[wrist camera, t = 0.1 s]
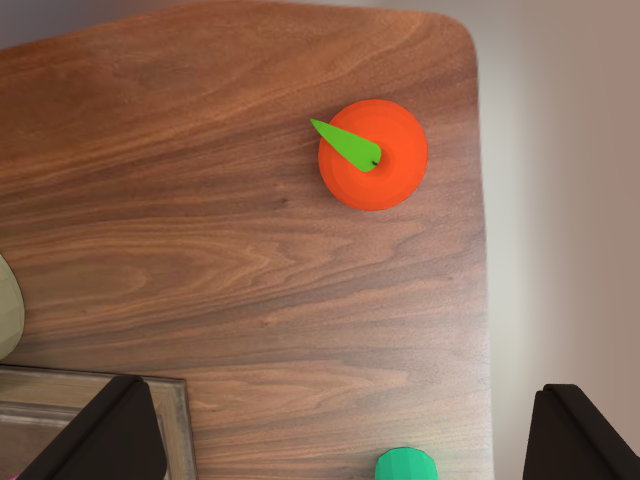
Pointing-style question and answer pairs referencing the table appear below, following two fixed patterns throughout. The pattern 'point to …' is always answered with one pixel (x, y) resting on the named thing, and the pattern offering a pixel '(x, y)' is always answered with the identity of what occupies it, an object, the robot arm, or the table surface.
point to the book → (67, 401)
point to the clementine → (372, 154)
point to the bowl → (10, 311)
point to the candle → (405, 465)
